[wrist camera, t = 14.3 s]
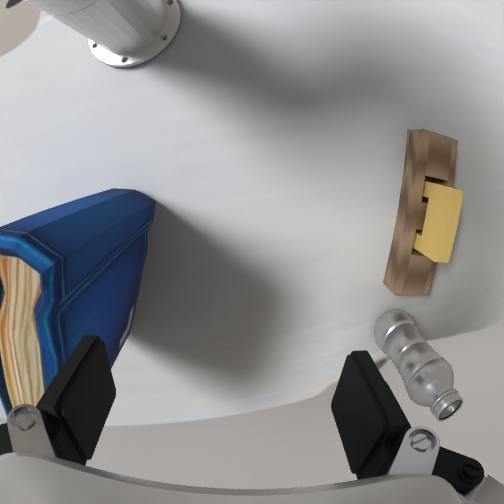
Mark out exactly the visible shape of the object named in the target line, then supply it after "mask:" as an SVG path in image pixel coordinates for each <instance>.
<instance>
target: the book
mask: <svg viewBox="0 0 504 504" xmlns="http://www.w3.org/2000/svg"><path fill="white" fill-rule="evenodd" d="M154 206H155V201H153V200H152V199H150V198H148V197H147V196H145V195H143V194H141V193H140V192H138V191H136V190H130V189H115V188H114V189H110V190H107V191H103V192H100V193H96V194H93V195H90V196H87V197H83V198H80V199H77V200H74V201H71V202H68V203H65V204H62V205H59V206H56V207H53V208H50V209H47V210H44V211H41V212H39V213H36V214H33V215H30V216H28V217H25V218H22V219H20V220H17V221H14V222H12V223H9V224H7V225H4V226H2V227H0V399H1V402H2V405H3V408H4V411H5V413H6V416H8V414H9V412H10V411H11V409H13V408H14V407H15V406H18V405H20V404H30V405H33V406H35V407H36V405H37V404H38V402H39V400H40V399H41V397H42V396H43V394H44V392H45V391H46V389H47V388H48V386H49V385H50V383H51V382H52V380H53V378H54V377H55V375H56V374H57V372H58V371H59V369H60V368H61V366H62V365H63V364H64V363H65V362H66V361H67V359H68V358H69V356H70V355H71V353H72V352H73V350H74V349H75V347H76V346H77V345H78V343H79V342H80V340H81V339H82V338H83V336H84V335H85V334H90V335H96V336H99V337H100V338H101V340H103V341H104V342H105V346H106V351H107V356H108V360H109V364H110V368H112V366H113V364H114V362H115V360H116V358H117V356H118V354H119V352H120V350H121V349H122V347H123V345H124V343H125V341H126V339H127V337H128V335H129V334H130V330H131V325H132V320H133V315H134V310H135V305H136V301H137V296H138V291H139V286H140V281H141V276H142V271H143V266H144V262H145V257H146V253H147V229H148V227H149V226H150V224H151V222H152V221H153V214H154Z"/></svg>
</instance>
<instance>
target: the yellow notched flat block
mask: <svg viewBox="0 0 504 504" xmlns="http://www.w3.org/2000/svg"><path fill="white" fill-rule="evenodd" d="M463 194H464V191H462V190H458V189H455V188H451V187H447V186H444V185H440V184H436V183H432V182H428V181H424V189H423V195H422V196H424V197H427V198H429V199H428V205H427V211H426V216H425V221H424V226H423V231H422V230H417V229H416V234H415V239H414V244H413V248H414V249H416V250H417V251H419V252H420V253H422V254H423V255H425V256H426V257H428V258H429V259H431V260H432V261H434V262H443V263H449V260H450V256H451V252H452V248H453V244H454V240H455V236H456V231H457V226H458V222H459V217H460V211H461V206H462V200H463Z"/></svg>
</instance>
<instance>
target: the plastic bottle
mask: <svg viewBox="0 0 504 504" xmlns="http://www.w3.org/2000/svg"><path fill="white" fill-rule="evenodd" d="M374 338H375V341H376V344H377V345H378V347H379V348H380V349H381V350H382V351H383V352H384V353H386V354H387V355H388V357H389V358H390V359H391V360H392V362H393V363H394V364H395V366H396V367H397V369H398V371H399V373H400V375H401V377H402V380H403V382H404V385H405V388H406V390H407V393H408V395H409V397H410V399H411V400H412V401H413V402H415V403H416V404H418V405H421V406H425V407H430V411H431V412H432V414H434V415H435V417H436V419H437V420H438V421H444V420H447V419H449V418H450V417H451V416H453V415H454V414H455V413H456V412H457V411H458V410H459V409H460V408H461V406H462V404H463V400H462V398H461V397H460V395H459V394H458V391H457V390H456V389H454V388H453V381H454V380H453V379H454V378H453V371H452V368H451V365H450V364H449V363H448V362H447V361H446V360H445V359H444V358H443V357H441V356H440V355H439V354H438V353H437V352H435V351H434V350H433V349H432V348H431V347H430V346H429V345H428V344H427V342H426V341H425V340H424V339H423V337H422V336H421V334H420V333H419V331H418V330H417V328H416V326H415V323H414V322H413V320H412V318H411V317H410V316H409V315H408V314H406V313H405V312H403V311H401V310H392V311H389V312H387V313H385V314H384V315H382V316H381V317H380V318H379V320H378V321H377V323H376V326H375V329H374Z"/></svg>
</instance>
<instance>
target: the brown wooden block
mask: <svg viewBox="0 0 504 504" xmlns="http://www.w3.org/2000/svg"><path fill="white" fill-rule="evenodd" d="M456 153H457V140H455V139H452V138H449V137H446V136H443V135H440V134H437V133H434V132H431V131H427V130H424V129H419V130H408V135H407V146H406V156H405V165H404V173H403V181H402V188H401V195H400V201H399V208H398V214H397V219H396V225H395V230H394V235H393V240H392V245H391V250H390V255H389V259H388V264H387V268H386V272H385V277H384V281H383V283H384V284H385V285H386V286H387V287H388V288H389V289H390V291H391V292H392V293H393V294H394V295H428V293H429V290H430V287H431V283H432V280H433V276H434V273H435V269H436V265H437V262H434V261H432V260H431V259H429V258H428V257H426V256H425V255H423V254H422V253H420V252H419V251H417V250H416V249H414V248H413V244H414V239H415V234H416V229H417V230H422V231H423V226H424V221H425V216H426V211H427V205H428V199H429V198H427V197H424V196H422V195H423V189H424V181H428V182H432V183H436V184H440V185H444V186H447V187H451V188H452V186H453V179H454V171H455V163H456Z"/></svg>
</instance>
